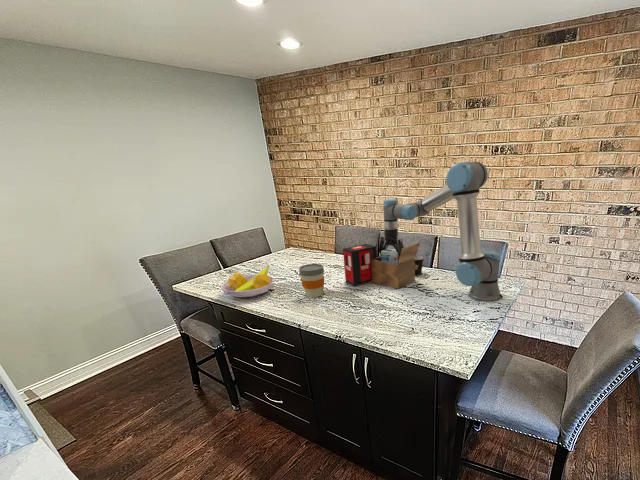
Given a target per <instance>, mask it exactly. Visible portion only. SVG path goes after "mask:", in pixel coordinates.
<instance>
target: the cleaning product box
mask: <svg viewBox="0 0 640 480" xmlns="http://www.w3.org/2000/svg"><path fill="white" fill-rule="evenodd" d="M342 253H343V255H342V256H343V266H344V278H345V283H346V284H348V285H350V286H353V287H356V286H357V287H358V286H360V285H364V284H367V283H370V282H372V265H371V260H372V259H375V258H377V246H376V245H374V244H369V243H364V244H363V243H362V244H359V245H354V246H349V247H345V248H342Z"/></svg>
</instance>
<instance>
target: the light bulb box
mask: <svg viewBox="0 0 640 480" xmlns="http://www.w3.org/2000/svg"><path fill="white" fill-rule="evenodd" d="M380 256H381V262H386V263H391V264H396V265H398V258H399V255H398V252H396V250H395V248H387V249H385V250H382V251H381V254H380Z"/></svg>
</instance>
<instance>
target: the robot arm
mask: <svg viewBox="0 0 640 480" xmlns="http://www.w3.org/2000/svg"><path fill="white" fill-rule="evenodd" d="M488 171H489V170H488V169H487V167H486V165H485V164H483V163H482V162H479V161H461V162H457V163H454V164H452V166H451V167H450V168H449V170H448V171H447V173H446V177H445V182H446V185H444V186H442V187H441V188H439V189H438V190H437V189H436V190H435V191H434V192H432V193H431V194H429V195H427V196H426V197H424V198H422V199H420V200H419V201H416V202H411V203H399V202H398V200H397V199H396V198H386V199H384V200H383V206H382V209H383V230H384V231H383V233H384V235H382V236H380V241H379V245H378V247H377V248H378V249H377V253H379V254H380V255H381V251H382V250H385V249H388V247H389V246H391V247H393V249H395V250H396V252H398V255H399V257H400V254H401V250H402V248H405V246H404V243H403V239H402V238H398V235H399V229H398V228H399V222H398V220H403V221H413V220H415V219H416V218H419V217H424V216H428V215H429V214H430V212H432V211H433V210H435V209H437V208H439V207H441V206H443V205H445V204H447V203H448V202H451V201H452V200H455V201H456V207H457V218H458V227H459V237H460V247H461V248H460V249H461V254H460V255H459V256H458V262H459V264H458V265H457V267H456V269H455V275H456V279H457V280H458V282H460V283H461V284H462V285H464V286H466V287H470V289H469V297H470V298H472V299H474V300H477V301H482V302H494V301H497V300H499V299H500V298H501V299H502V298H504V296H503V295H502V294H501V291H500V287H499V272H500V265H501V255H500V253H498V252H495V251H489V250H482V249H481V238H480V225H479V213H478V211H479V210H478V200H477V199H478V196H479V194H480V193H481V192H480V188H482V187H484V186H485V184H486V182H487V181H488V177H489V172H488ZM398 260H399V258H398ZM402 263H403V262H402ZM400 264H401V263H400ZM398 265H399V264H398Z"/></svg>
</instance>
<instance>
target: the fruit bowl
mask: <svg viewBox="0 0 640 480" xmlns="http://www.w3.org/2000/svg"><path fill="white" fill-rule="evenodd" d="M269 268H270V265H269V264H267V265H266V267H265V268H263V270H261V271H260V272H258V273H257V274H251V275H244V274H241V273H240V272H235V273H231V274H230V276H229V277H228V278H227V280H226V281H224V283H222V285H221V286H220V289H221V290H222V291H223V292H224V293H225V295H227V296H232V297H235V298H253V297H256V296H258V295H262V294H264V293H266V292H268V291H269V290H270V289H271V288H273V287H274V284H275V280H276V278H275V277H273V276H270V275H268V273H269Z"/></svg>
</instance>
